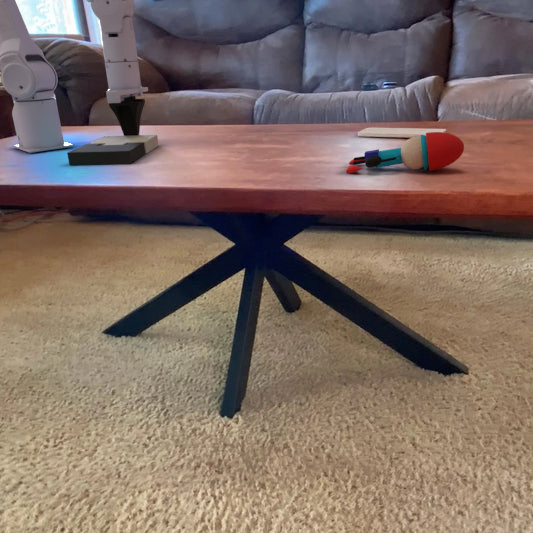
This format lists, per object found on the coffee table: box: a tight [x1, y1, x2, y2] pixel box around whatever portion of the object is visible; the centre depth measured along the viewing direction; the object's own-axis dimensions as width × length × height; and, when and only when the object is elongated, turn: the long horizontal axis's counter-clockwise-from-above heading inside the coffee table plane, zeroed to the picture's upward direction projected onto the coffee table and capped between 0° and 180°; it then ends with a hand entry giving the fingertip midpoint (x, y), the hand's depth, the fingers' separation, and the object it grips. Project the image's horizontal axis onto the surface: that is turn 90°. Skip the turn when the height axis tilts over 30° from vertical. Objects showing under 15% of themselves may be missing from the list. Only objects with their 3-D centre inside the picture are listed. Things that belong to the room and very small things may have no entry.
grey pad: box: [87, 134, 159, 155], centre depth 90 cm, size 10×10×2 cm
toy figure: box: [345, 132, 465, 174], centre depth 68 cm, size 8×5×15 cm
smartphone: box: [357, 127, 447, 138], centre depth 95 cm, size 7×1×15 cm
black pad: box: [66, 142, 146, 166], centre depth 83 cm, size 8×10×2 cm
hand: (132, 140), depth 95 cm, fingers closed
